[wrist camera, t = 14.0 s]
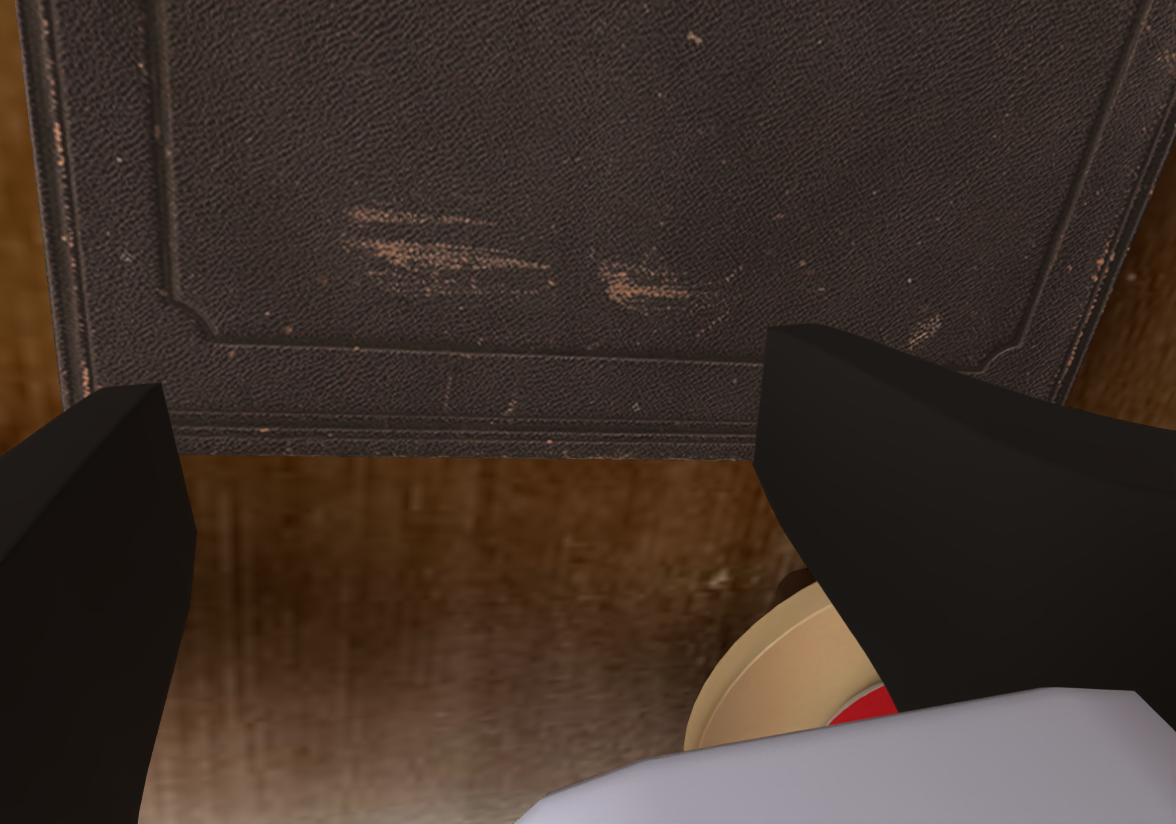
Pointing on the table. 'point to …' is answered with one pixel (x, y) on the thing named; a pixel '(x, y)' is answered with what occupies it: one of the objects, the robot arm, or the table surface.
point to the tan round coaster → (782, 671)
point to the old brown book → (574, 206)
